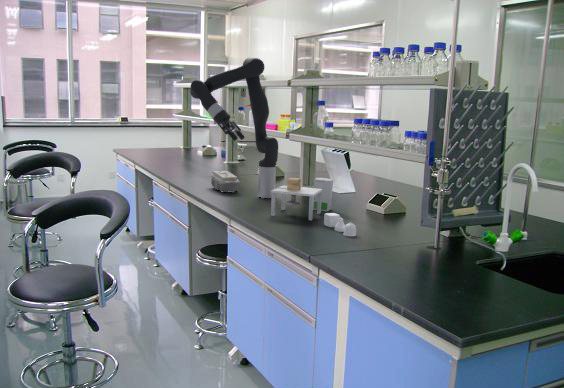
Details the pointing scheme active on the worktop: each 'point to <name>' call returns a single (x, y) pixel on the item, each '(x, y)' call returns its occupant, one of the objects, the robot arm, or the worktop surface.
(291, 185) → the tan block with stem
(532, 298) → the worktop surface
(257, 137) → the robot arm
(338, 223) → the container set
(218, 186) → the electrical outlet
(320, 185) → the skincare box
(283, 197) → the white slotted table
